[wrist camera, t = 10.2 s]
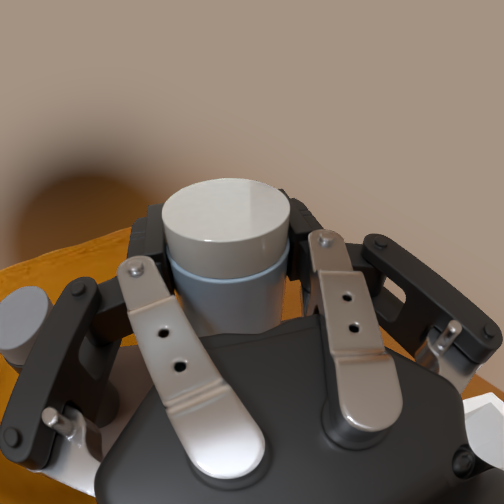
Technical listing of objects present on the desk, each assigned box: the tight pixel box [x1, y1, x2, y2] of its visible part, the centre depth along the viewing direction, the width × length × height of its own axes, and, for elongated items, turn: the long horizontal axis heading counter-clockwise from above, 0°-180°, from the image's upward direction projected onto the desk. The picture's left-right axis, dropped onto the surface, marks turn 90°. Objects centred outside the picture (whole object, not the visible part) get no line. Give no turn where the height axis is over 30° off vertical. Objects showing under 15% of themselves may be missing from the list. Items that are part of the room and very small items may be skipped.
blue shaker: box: [162, 178, 290, 337], centre depth 12 cm, size 4×4×10 cm
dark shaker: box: [0, 286, 120, 428], centre depth 13 cm, size 4×4×10 cm
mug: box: [463, 392, 504, 470], centre depth 12 cm, size 12×9×10 cm
